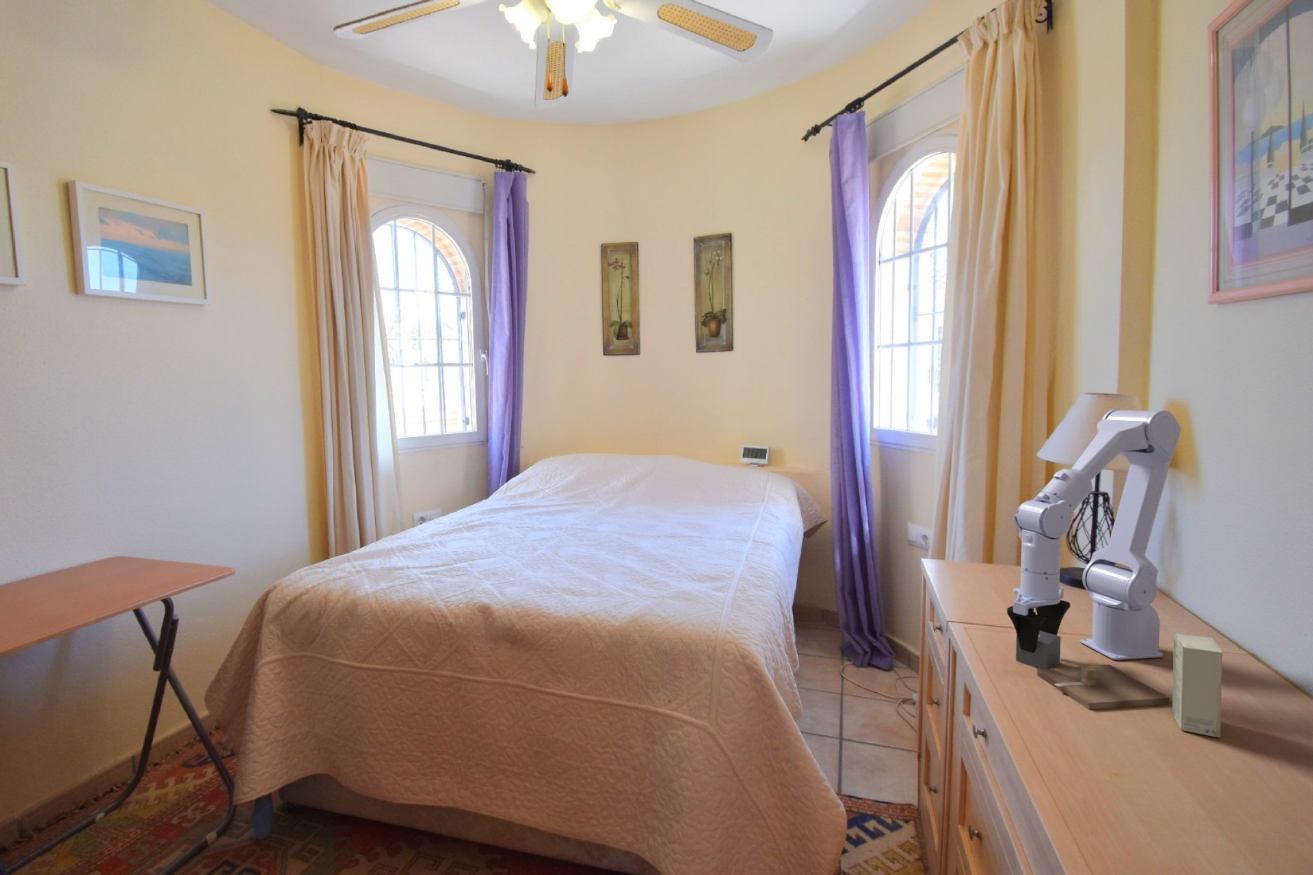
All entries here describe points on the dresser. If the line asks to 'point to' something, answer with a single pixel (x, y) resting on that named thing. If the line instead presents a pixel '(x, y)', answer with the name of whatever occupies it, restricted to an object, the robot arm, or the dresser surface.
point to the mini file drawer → (1041, 652)
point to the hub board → (1102, 687)
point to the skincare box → (1197, 684)
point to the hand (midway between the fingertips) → (1037, 644)
